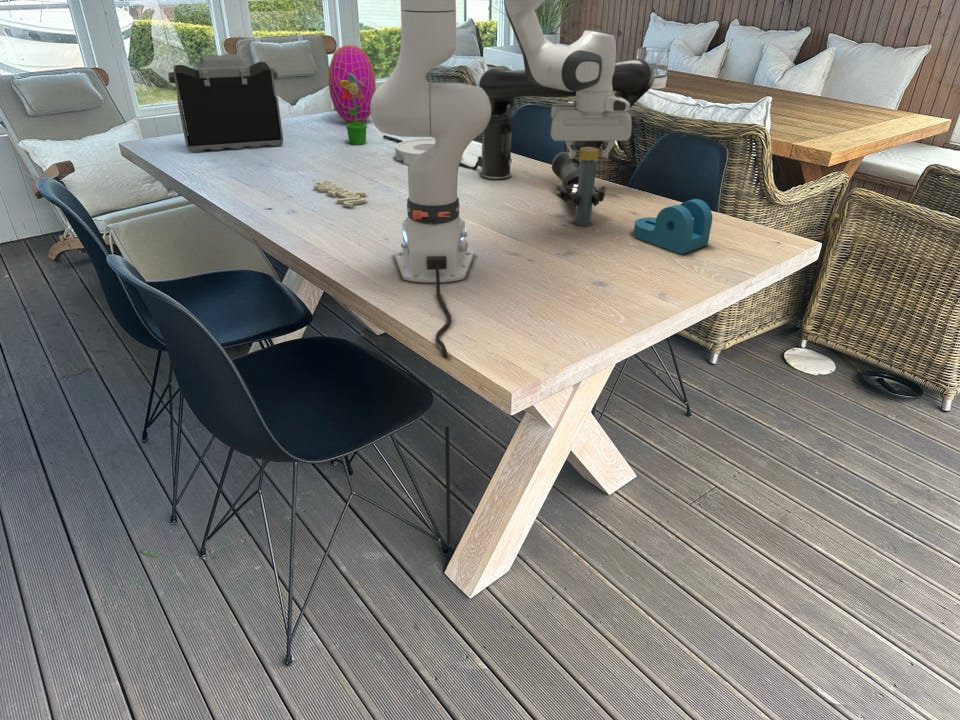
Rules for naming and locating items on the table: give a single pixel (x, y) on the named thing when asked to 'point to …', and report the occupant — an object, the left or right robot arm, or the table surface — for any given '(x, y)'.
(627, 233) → the table surface
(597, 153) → the lid
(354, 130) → the potted flower
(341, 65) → the decorative egg
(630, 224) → the table surface
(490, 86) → the right robot arm
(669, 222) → the camera mount
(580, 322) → the table surface
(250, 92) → the electronic device
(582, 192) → the grey long cylinder
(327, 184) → the decorative sign
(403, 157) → the ashtray
